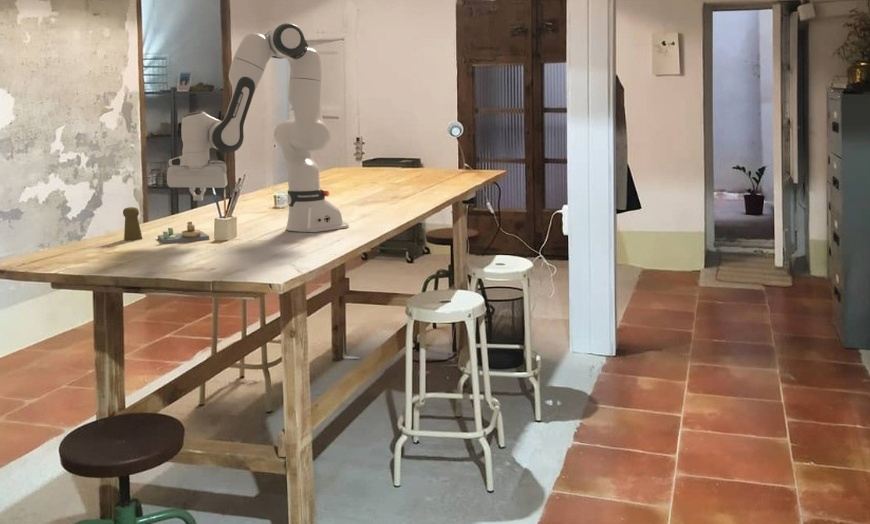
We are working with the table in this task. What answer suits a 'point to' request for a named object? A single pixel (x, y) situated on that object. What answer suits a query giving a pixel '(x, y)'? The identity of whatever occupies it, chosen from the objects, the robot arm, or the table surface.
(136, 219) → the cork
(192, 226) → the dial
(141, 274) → the table surface
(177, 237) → the board
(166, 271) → the table surface
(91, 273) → the table surface
